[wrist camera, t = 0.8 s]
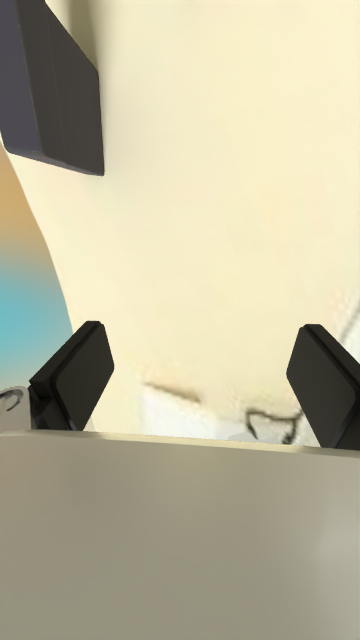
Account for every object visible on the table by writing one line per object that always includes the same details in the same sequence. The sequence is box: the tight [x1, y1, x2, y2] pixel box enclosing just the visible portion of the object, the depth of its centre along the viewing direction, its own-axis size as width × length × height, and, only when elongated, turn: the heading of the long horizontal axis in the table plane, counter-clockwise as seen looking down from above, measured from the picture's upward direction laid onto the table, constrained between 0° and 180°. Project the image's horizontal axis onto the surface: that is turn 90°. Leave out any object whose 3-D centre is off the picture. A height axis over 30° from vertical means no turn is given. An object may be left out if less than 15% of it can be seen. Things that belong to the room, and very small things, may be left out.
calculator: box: [0, 0, 104, 176], centre depth 22 cm, size 11×4×15 cm, turn 174°
